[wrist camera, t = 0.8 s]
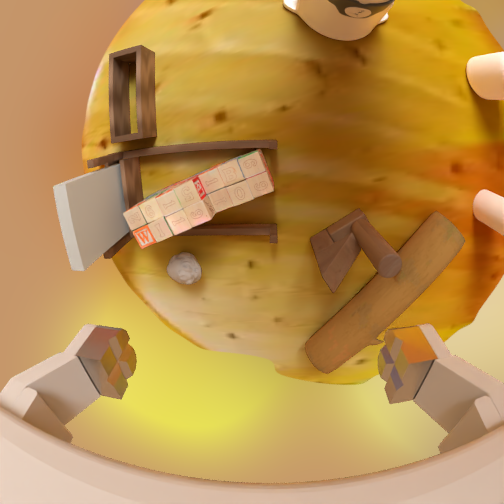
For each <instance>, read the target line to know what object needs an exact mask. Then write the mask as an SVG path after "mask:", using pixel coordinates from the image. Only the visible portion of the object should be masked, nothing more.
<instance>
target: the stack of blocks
mask: <svg viewBox="0 0 504 504" xmlns="http://www.w3.org/2000/svg"><path fill="white" fill-rule="evenodd" d="M273 191H274V181H273V178H272V176H271V173H270V171H269V168H268V166H267V163H266V160H265V158H264V155H263V153H262V151H261V149H257V150H255V151H252V152H250V153H247V154H245V155H240V156H238V157H235V158H233V159H230V160H228V161H225V162H223V163H220V164H218V165H216V166H213V167H211V168H209V169H207V170H205V171H202V172H200V173H198V174H196V175H193V176H191V177H189V178H187V179H184V180H182V181H179V182H177V183H175V184H173V185H170V186H168V187H166V188H163V189H161V190H159V191H157V192H155V193H153V194H151V195H150V196H148V197H147V198H146V199H144V200H143V201H141V202H139V203H138V204H136V205H134V206H133V207H132V208H130V209H128V210H127V211H125V212H124V213H123V215H124V217H125V219H126V221H127V223H128V225H129V227H130V229H131V231H133V235H134V236H135V238H136V240H137V242H138V244H139V246H140V247H141V249H143V248H145V247H148V246H150V245H152V244H155V243H156V242H160V241H162V240H165V239H167V238H169V237H171V236H173V235H177V234H180V233H182V232H184V231H186V230H189V229H191V228H192V227H195V226H197V225H200V224H202V223H205V222H207V221H209V220H211V219H212V218H213V216H214V215H215V213H217V212H220V211H223V210H225V209H228V208H230V207H233V206H237V205H240V204H243V203H245V202H248V201H251V200H253V199H254V198H256V197H259V196H262V195H265V194H267V193H270V192H273Z"/></svg>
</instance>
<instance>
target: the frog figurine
mask: <svg viewBox="0 0 504 504" xmlns="http://www.w3.org/2000/svg"><path fill="white" fill-rule="evenodd" d="M167 273H168V275H169V276H170V277H171V278H172V279H173V280H175V281H177V282H179V283H180V284H186V285H189V284H193V283H196V282H197V281H198V280H200V278H201V273H202V270H201V266H200V265H199V263H198V261H197V259H196V257H195V256H194V255H193V254H191V253H188V252H182V253H180V254H177V255H174V256H173V257H172V258H171V259H170V261H169V264H168V266H167Z"/></svg>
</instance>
